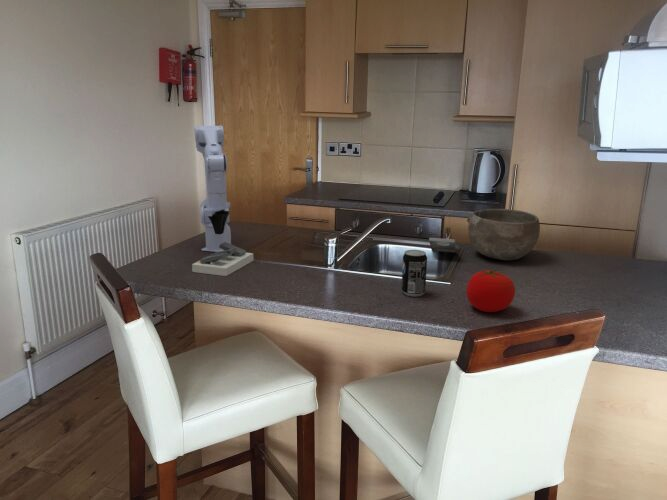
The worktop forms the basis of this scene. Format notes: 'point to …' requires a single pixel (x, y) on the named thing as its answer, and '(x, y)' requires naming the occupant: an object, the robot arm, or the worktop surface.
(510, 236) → the bowl
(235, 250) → the rocker
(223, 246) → the rocker
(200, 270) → the switch panel
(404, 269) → the beverage can
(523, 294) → the worktop surface
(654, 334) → the worktop surface
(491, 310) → the tomato
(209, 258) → the rocker
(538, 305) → the worktop surface
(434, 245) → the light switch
